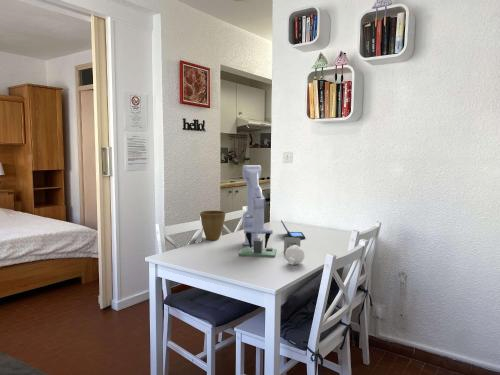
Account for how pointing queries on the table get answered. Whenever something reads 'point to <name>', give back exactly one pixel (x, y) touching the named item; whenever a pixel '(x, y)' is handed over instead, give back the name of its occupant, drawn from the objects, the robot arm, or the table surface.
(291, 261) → the perfume bottle
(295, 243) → the electrical switch
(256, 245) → the plug
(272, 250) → the pcb
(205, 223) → the plant pot
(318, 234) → the table surface
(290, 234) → the handheld game console
